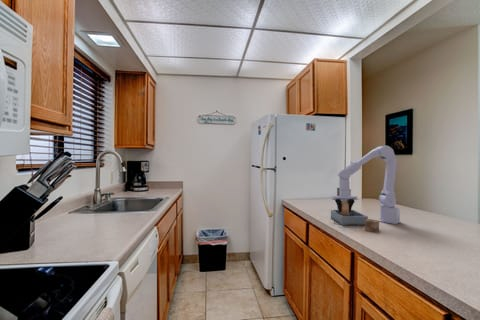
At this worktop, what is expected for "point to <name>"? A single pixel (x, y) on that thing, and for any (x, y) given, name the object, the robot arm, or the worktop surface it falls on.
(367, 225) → the walnut block
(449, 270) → the worktop surface
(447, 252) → the worktop surface
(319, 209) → the worktop surface
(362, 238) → the worktop surface
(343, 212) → the peach rounded cylinder
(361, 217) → the slate tote
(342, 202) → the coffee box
